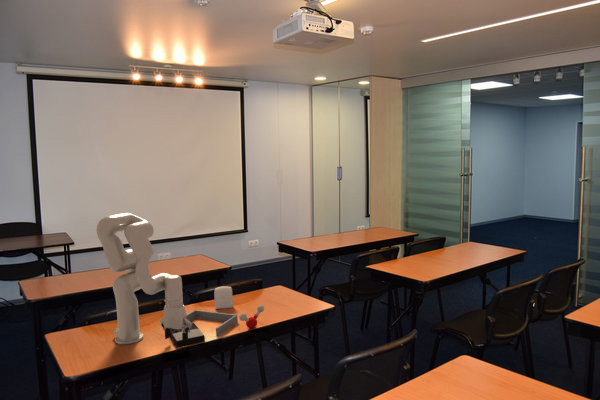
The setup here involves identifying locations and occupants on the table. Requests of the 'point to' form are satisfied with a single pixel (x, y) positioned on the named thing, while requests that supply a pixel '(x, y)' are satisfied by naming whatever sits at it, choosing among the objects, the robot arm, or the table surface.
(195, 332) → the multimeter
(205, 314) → the grey low wall frame
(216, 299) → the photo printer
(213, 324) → the table surface
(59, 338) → the table surface
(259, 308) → the molecular model
